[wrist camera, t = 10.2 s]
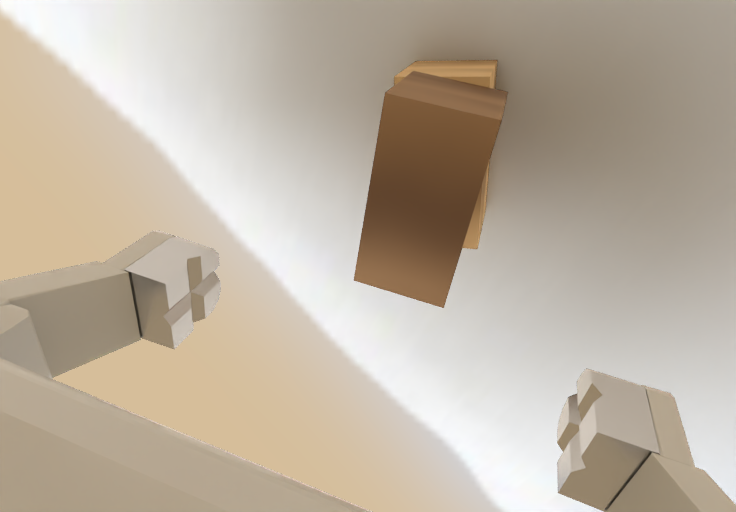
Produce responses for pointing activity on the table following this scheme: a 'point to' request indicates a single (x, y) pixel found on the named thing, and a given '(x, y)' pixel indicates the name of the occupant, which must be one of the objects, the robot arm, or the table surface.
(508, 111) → the table surface
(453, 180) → the walnut block
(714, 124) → the table surface
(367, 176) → the table surface
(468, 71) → the oak block
